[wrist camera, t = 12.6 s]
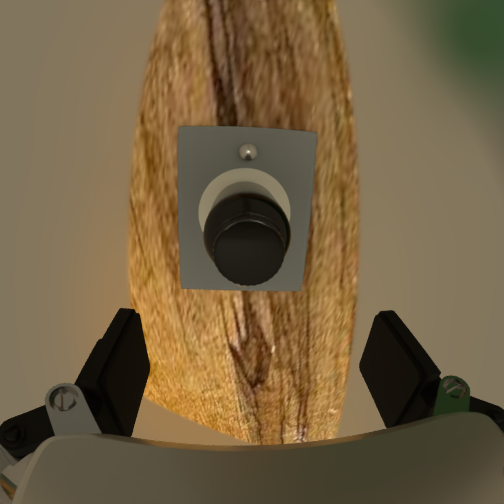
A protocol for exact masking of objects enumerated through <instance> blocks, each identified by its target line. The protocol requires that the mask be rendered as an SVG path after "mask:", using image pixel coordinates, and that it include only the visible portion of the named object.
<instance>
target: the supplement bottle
mask: <svg viewBox="0 0 504 504" xmlns="http://www.w3.org/2000/svg"><path fill="white" fill-rule="evenodd" d="M203 240H204V245H205V249H206V251H207V253H208V255H209V257H210V259H211V260H212V261H213V262H214V264H215V266H216V267H217V268H218V271H219V272H220V273H221V274H222V276H223V277H225V278H227V280H228V281H232V282H233V283H234V284H239V285H241V286H243V285H245V286H251V285H252V286H256V285H257V284H262V283H264V282H267V281H268V280H269V279H271V278H273V277H274V275H275V274H277V273H278V271H279V269H280V268H281V267H282V263H283V262H284V257H285V255H286V253H287V251H288V249H289V246H290V241H291V228H290V224H289V221H288V218H287V216H286V214H285V212H284V211H283V209H282V208H281V206H280V205H279V204H278V202H277V201H276V199H275V198H274V197H273V195H272V194H271V193H270V192H269V191H268V190H267V189H266V188H264V187H263V186H261V185H259V184H257V183H254V182H248V181H242V182H236V183H233V184H231V185H229V186H227V187H226V188H224V189H223V190H222V191H221V192H220V193H219V194H218V196H217V197H216V199H215V201H214V203H213V205H212V207H211V209H210V212H209V214H208V216H207V219H206V221H205V225H204V231H203Z"/></svg>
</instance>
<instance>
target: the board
mask: <svg viewBox="0 0 504 504" xmlns="http://www.w3.org/2000/svg"><path fill="white" fill-rule="evenodd" d="M316 144H317V133H316V132H307V131H297V130H286V129H274V128H258V127H234V126H180V127H179V130H178V232H179V256H180V275H181V289H205V290H244V291H301V289H302V281H303V274H304V266H305V258H306V250H307V242H308V233H309V224H310V214H311V204H312V194H313V183H314V171H315V158H316ZM242 181H248V182H254V183H257V184H259V185H261V186H263V187H264V188H266V189H267V190H268V191H269V192H270V193H271V194H272V195H273V197H274V198H275V199H276V201H277V202H278V204H279V205H280V206H281V208H282V209H283V211H284V212H285V214H286V216H287V218H288V221H289V224H290V228H291V241H290V246H289V249H288V251H287V253H286V255H285V257H284V262H283V263H282V267H281V268H280V269H279V271H278V273H277V274H275V275H274V277H273V278H271V279H269V280H268V281H267V282H264V283H262V284H257V285H256V286H252V285H251V286H245V285H243V286H241V285H239V284H234V283H233V282H232V281H228V280H227V278H225V277H223V276H222V274H221V273H220V272H219V271H218V268H217V267H216V266H215V264H214V262H213V261H212V260H211V259H210V257H209V255H208V253H207V251H206V249H205V245H204V240H203V231H204V225H205V221H206V219H207V216H208V214H209V212H210V209H211V207H212V205H213V203H214V201H215V199H216V197H217V196H218V194H219V193H220V192H221V191H222V190H223V189H224V188H226V187H227V186H229V185H231V184H233V183H236V182H242Z"/></svg>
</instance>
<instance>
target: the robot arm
mask: <svg viewBox="0 0 504 504" xmlns="http://www.w3.org/2000/svg"><path fill="white" fill-rule="evenodd" d="M359 368H360V372H361V374H362V376H363V378H364V380H365V382H366V384H367V386H368V389H369V391H370V393H371V395H372V397H373V399H374V402H375V404H376V406H377V408H378V411H379V413H380V415H381V417H382V419H383V422H384V424H385V426H386V428H387V429H382V430H379V431H374V432H369V433H364V434H358V435H353V436H347V437H341V438H335V439H328V440H320V441H312V442H303V443H291V444H277V445H252V446H223V445H198V444H184V443H174V442H164V441H154V440H147V439H140V438H133V437H131V435H132V432H133V428H134V424H135V421H136V417H137V414H138V410H139V407H140V403H141V400H142V396H143V393H144V389H145V386H146V383H147V379H148V376H149V373H150V362H149V358H148V353H147V349H146V344H145V339H144V334H143V329H142V323H141V318H140V314H139V313H136V312H135V310H134V309H126V308H120V309H119V311H118V312H117V314H116V315H115V317H114V319H113V320H112V322H111V324H110V326H109V327H108V329H107V331H106V333H105V334H104V336H103V338H102V339H99V340H98V341H97V343H96V345H95V347H94V348H93V350H92V352H91V354H90V356H89V357H88V359H87V361H86V363H85V365H84V366H83V368H82V370H81V372H80V374H79V376H78V378H77V380H76V382H75V384H70V383H61V384H58V385H56V386H53V387H52V388H51V389H50V390H49V391H48V393H47V394H46V397H45V405H44V406H41V407H39V408H36V409H34V410H31V411H29V412H26V413H23V414H21V415H18V416H16V417H13V418H10V419H8V420H6V421H4V422H3V423H2V424H1V426H0V504H504V410H503V409H502V408H501V407H499V406H497V405H494V404H491V403H488V402H486V401H483V400H480V399H477V398H475V397H472V396H470V388H469V386H468V384H467V383H466V382H465V381H464V380H463V379H461V378H459V377H457V376H451V375H450V376H446V377H444V378H443V379H441V378H440V377H439V375H440V374H441V372H440V370H439V369H438V368H437V366H436V365H435V363H434V362H433V361H432V359H431V358H430V357H429V355H428V354H427V353H426V351H425V350H424V349H423V347H422V346H421V345H420V343H419V342H418V341H417V339H416V338H415V337H414V336H413V334H412V333H411V332H410V330H409V329H408V328H407V327H406V325H405V324H404V323H403V321H402V320H401V319H400V318H399V317H398V315H397V314H396V313H395V312H394V311H392V310H389V311H380V312H379V314H378V315H376V316H375V318H374V321H373V325H372V328H371V331H370V334H369V337H368V340H367V343H366V346H365V349H364V352H363V355H362V358H361V361H360V364H359Z"/></svg>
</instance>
